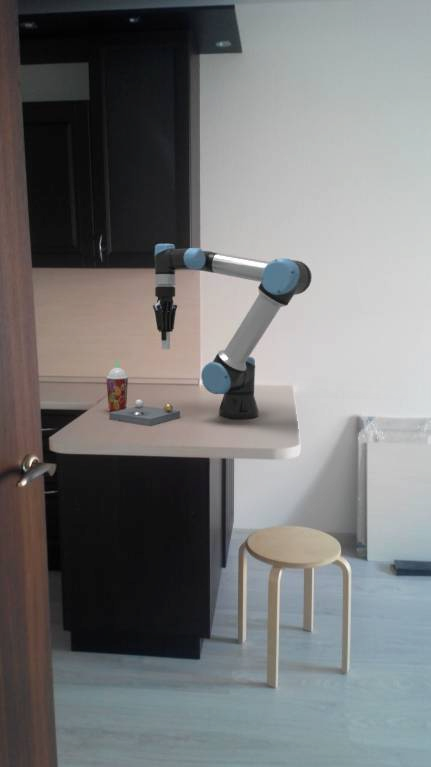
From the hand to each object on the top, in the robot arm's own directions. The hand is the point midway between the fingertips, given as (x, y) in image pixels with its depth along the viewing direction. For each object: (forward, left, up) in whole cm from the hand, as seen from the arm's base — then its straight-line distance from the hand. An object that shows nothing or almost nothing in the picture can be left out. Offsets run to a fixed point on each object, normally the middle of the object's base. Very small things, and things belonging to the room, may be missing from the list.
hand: (165, 349), depth 224 cm
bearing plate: (+1, +12, -25) cm, 28 cm away
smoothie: (+18, +8, -25) cm, 32 cm away
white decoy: (+8, +7, -21) cm, 23 cm away
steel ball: (+1, +16, -24) cm, 28 cm away
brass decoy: (-6, +7, -21) cm, 23 cm away
